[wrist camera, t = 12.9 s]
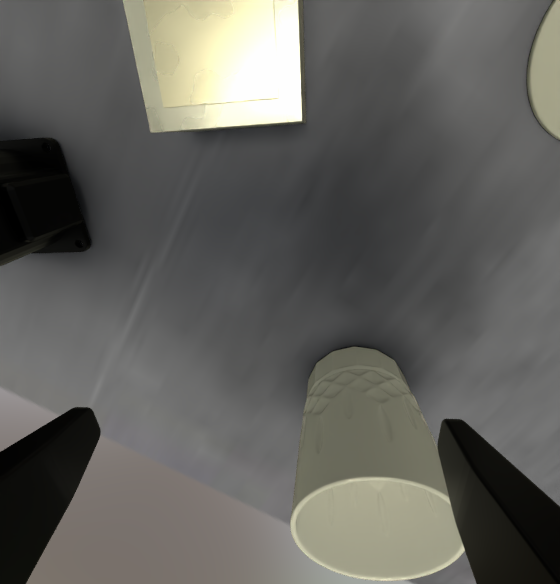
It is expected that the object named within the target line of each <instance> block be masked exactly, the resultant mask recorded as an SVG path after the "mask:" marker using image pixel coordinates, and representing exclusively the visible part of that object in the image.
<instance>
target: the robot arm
mask: <svg viewBox="0 0 560 584" xmlns="http://www.w3.org/2000/svg"><path fill="white" fill-rule="evenodd" d="M47 144H49V146H50V147H51V151H49V150H48V148H47ZM79 240H80V241H81V242H82V243H83V246H82V245H81V244H80V243H79ZM90 246H91V243H90V239H89V236H88V233H87V230H86V227H85V224H84V221H83V217H82V214H81V211H80V208H79V205H78V201H77V198H76V195H75V192H74V189H73V186H72V183H71V180H70V177H69V174H68V171H67V168H66V165H65V162H64V159H63V156H62V153H61V150H60V147H59V145H58V143H57V142H56V141H55V140H54V139H52V138H34V139H21V140H8V141H0V266H2V265H4V264H7V263H9V262H11V261H14V260H16V259H18V258H21V257H23V256H25V255H28V254H30V253H57V252H83V251H85V250H87V249H89V248H90ZM99 438H100V427H99V424H98V422H97V420H96V417H95V415H94V412H93V410H92V409H91V408H88V407H75V408H72V409H71V410H69V411H67V412H66V413H64V414H62V415H61V416H59V417H57V418H56V419H54V420H52V421H51V422H49V423H47V424H46V425H44V426H42V427H41V428H39V429H38V430H36V431H34V432H33V433H31V434H29V435H28V436H26V437H24V438H23V439H21V440H19V441H18V442H16V443H15V444H13V445H11V446H9V447H8V448H6V449H5V450H3V451H1V452H0V584H26V582H27V581H28V579H29V577H30V575H31V573H32V571H33V569H34V568H35V566H36V564H37V562H38V560H39V559H40V557H41V555H42V553H43V551H44V550H45V548H46V546H47V544H48V542H49V540H50V539H51V537H52V535H53V533H54V531H55V530H56V528H57V526H58V524H59V522H60V520H61V519H62V517H63V515H64V513H65V511H66V510H67V508H68V506H69V504H70V502H71V500H72V498H73V496H74V494H75V492H76V490H77V488H78V486H79V483H80V481H81V479H82V476H83V474H84V472H85V470H86V467H87V465H88V463H89V461H90V458H91V456H92V454H93V451H94V449H95V447H96V445H97V443H98V440H99ZM438 454H439V458H440V462H441V466H442V470H443V474H444V478H445V483H446V487H447V491H448V495H449V499H450V503H451V507H452V511H453V515H454V519H455V523H456V526H457V529H458V532H459V535H460V538H461V541H462V543H463V546H464V549H465V552H466V555H467V558H468V560H469V563H470V566H471V569H472V572H473V575H474V577H475V580H476V583H477V584H560V506H559V505H557V504H556V503H555V502H554V501H553V500H552V499H551V498H550V497H548V496H547V495H546V494H545V493H544V492H543V491H542V490H541V489H539V488H538V487H537V486H536V485H535V484H534V483H533V482H532V481H531V480H529V479H528V478H527V477H526V476H525V475H524V474H523V473H522V472H520V471H519V470H518V469H517V468H516V467H515V466H514V465H513V464H512V463H510V462H509V461H508V460H507V459H506V458H505V457H504V456H503V455H501V454H500V453H499V452H498V451H497V450H496V449H495V448H494V447H492V446H491V445H490V444H489V443H488V442H487V441H486V440H485V439H484V438H482V437H481V436H480V435H479V434H478V433H477V432H476V431H475V430H473V429H472V428H471V427H470V426H469V425H468V424H467V423H466V422H464V421H463V420H460V419H444V420H443V421H442V424H441V429H440V434H439V439H438Z"/></svg>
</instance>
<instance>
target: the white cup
mask: <svg viewBox="0 0 560 584" xmlns="http://www.w3.org/2000/svg"><path fill="white" fill-rule="evenodd" d="M290 527H291V533H292V536H293V539H294V541H295V542H296V544H297V546H298V547H299V548H300V549H301V551H302V552H303V553H304V554H306V555H307V556H308V557H309V558H310V559H312V560H313V561H315V562H316V563H318V564H320V565H321V566H323V567H325V568H327V569H329V570H332V571H334V572H337V573H340V574H343V575H346V576H350V577H354V578H359V579H366V580H375V581H398V580H407V579H413V578H418V577H422V576H426V575H429V574H432V573H435V572H437V571H439V570H441V569H443V568H445V567H447V566H449V565H450V564H452V563H453V562H454V561H455V560H457V559H458V558H459V557H460V556H461V555H462V554H463V552H464V551H465V549H464V546H463V543H462V541H461V538H460V535H459V532H458V529H457V526H456V523H455V519H454V515H453V511H452V507H451V503H450V499H449V495H448V491H447V487H446V483H445V478H444V474H443V470H442V466H441V462H440V458H439V454H438V448H437V445H436V443H435V440H434V438H433V436H432V434H431V432H430V430H429V428H428V426H427V423H426V421H425V419H424V417H423V415H422V412H421V411H420V408H419V406H418V403H417V401H416V399H415V397H414V395H413V394H412V393H411V391H410V389H409V386H408V384H407V381H406V379H405V377H404V375H403V373H402V372H401V370H400V368H399V367H398V365H397V364H396V362H395V360H393V359H391V358H390V357H388V356H386V355H385V354H383V353H381V352H380V351H378V350H376V349H369V348H362V347H349V348H345V349H341V350H336V351H333V352H331V353H330V354H328V355H327V356H326V357H324V358H323V359H321V360H320V361H319V362H317V363H316V365H315V367H314V369H313V371H312V373H311V375H310V377H309V380H308V389H307V400H306V404H305V408H304V413H303V422H302V429H301V435H300V442H299V451H298V460H297V469H296V479H295V487H294V496H293V505H292V513H291V522H290Z"/></svg>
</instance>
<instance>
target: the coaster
mask: <svg viewBox="0 0 560 584" xmlns="http://www.w3.org/2000/svg"><path fill="white" fill-rule="evenodd" d="M527 90H528V97H529V101H530V105H531V108H532V110H533V113H534V115H535V117H536V119H537V120H538V122H539V123H540V125H541V126H542V127H543V128H544V129H545V130H546V131H547V132H548V133H549V134H551V135H552V136H553V137H555V138H556V139H558V140H560V0H554V1H553V2H552V4H551V5H550V7H549V9H548V10H547V12H546V14H545V16H544V18H543V20H542V22H541V24H540V26H539V28H538V31H537V33H536V36H535V39H534V41H533V45H532V48H531V52H530V56H529V62H528V68H527Z"/></svg>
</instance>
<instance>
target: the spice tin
mask: <svg viewBox="0 0 560 584" xmlns="http://www.w3.org/2000/svg"><path fill="white" fill-rule="evenodd" d="M123 3H124V8H125V13H126V17H127V22H128V27H129V32H130V36H131V41H132V46H133V51H134V55H135V60H136V65H137V70H138V74H139V79H140V84H141V89H142V93H143V98H144V103H145V108H146V112H147V117H148V122H149V126H150V131H151V133H154V132H197V131H211V130H224V129H237V128H250V127H263V126H277V125H290V124H303V123H306V92H305V56H304V21H303V0H123Z"/></svg>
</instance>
